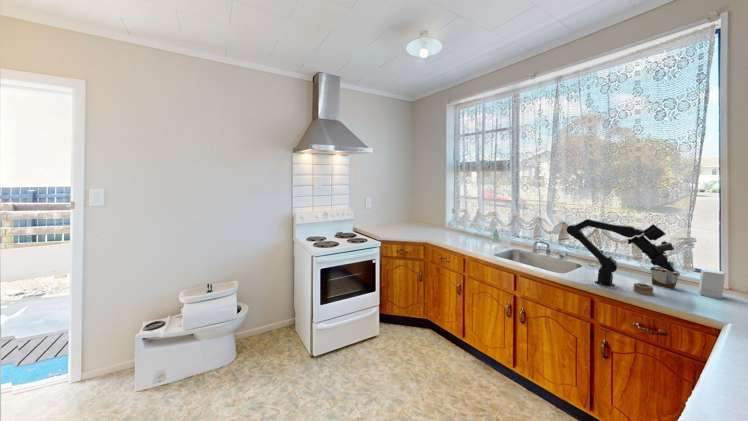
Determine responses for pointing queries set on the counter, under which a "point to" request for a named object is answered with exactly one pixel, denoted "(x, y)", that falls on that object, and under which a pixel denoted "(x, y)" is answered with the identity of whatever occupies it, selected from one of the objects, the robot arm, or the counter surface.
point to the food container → (663, 277)
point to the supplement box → (711, 283)
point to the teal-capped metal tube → (669, 274)
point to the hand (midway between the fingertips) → (673, 270)
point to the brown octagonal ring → (643, 288)
